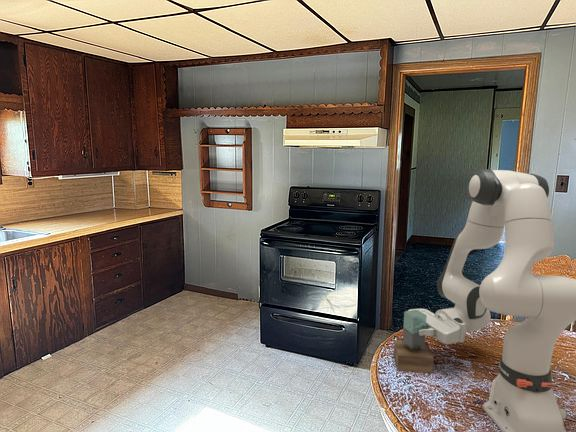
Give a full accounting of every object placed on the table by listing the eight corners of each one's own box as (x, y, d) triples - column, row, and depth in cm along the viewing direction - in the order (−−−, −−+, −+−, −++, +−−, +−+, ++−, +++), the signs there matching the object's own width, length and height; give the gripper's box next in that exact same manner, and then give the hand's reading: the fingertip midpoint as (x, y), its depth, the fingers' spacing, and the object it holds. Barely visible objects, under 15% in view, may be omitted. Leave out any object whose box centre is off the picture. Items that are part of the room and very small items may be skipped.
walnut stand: (432, 373, 130) (433, 358, 129) (397, 370, 131) (398, 356, 130) (426, 355, 140) (427, 342, 140) (393, 353, 142) (394, 339, 141)
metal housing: (424, 347, 133) (426, 315, 131) (411, 349, 132) (413, 317, 130) (415, 340, 138) (417, 309, 136) (402, 342, 136) (404, 311, 134)
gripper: (427, 302, 147) (394, 307, 142) (469, 325, 128) (433, 332, 123) (426, 318, 148) (393, 324, 144) (467, 344, 129) (431, 351, 125)
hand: (412, 328), depth 133 cm, fingers closed on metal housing, 5 cm apart
